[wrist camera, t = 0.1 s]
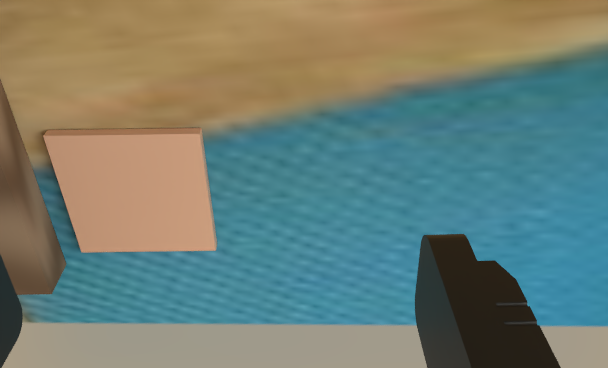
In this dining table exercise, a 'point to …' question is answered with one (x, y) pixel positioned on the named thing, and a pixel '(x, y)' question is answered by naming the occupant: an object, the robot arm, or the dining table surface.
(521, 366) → the robot arm
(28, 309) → the dining table surface
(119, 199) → the terracotta tile
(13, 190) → the well board
